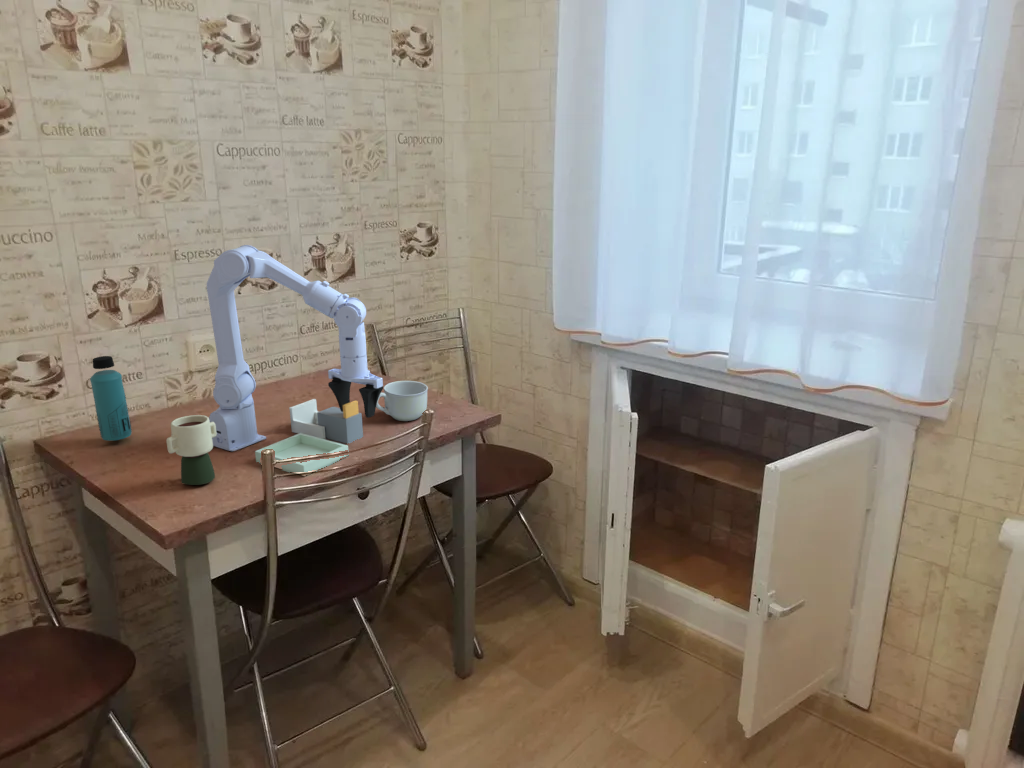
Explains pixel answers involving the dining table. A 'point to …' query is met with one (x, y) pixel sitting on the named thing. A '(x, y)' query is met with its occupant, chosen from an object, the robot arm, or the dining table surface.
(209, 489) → the dining table surface
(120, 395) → the beverage bottle
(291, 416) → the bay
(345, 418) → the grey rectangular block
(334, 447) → the tray
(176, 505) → the dining table surface
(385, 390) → the teacup
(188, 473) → the character mug
